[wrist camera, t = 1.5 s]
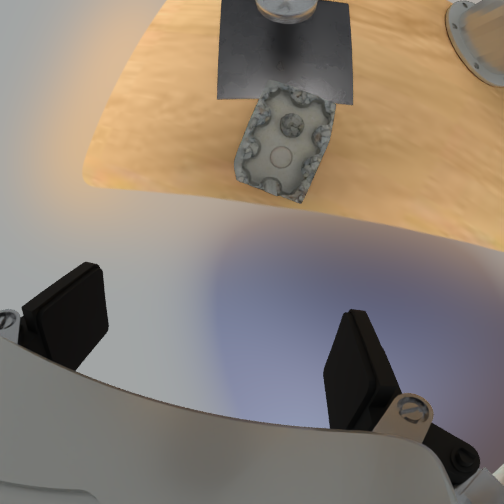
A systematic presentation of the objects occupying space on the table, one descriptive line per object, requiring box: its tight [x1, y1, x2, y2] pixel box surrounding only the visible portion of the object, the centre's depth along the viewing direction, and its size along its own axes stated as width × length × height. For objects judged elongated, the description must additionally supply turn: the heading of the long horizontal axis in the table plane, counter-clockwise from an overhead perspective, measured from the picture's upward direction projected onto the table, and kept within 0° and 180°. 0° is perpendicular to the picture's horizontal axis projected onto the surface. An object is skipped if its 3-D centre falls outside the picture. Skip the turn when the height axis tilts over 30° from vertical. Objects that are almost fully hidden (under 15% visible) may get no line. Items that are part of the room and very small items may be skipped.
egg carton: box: [234, 80, 336, 204], centre depth 26 cm, size 11×8×4 cm
